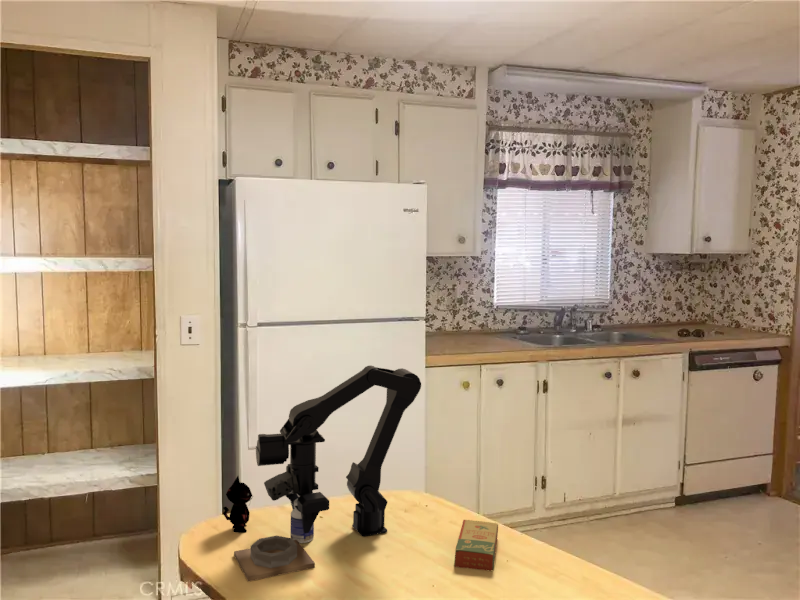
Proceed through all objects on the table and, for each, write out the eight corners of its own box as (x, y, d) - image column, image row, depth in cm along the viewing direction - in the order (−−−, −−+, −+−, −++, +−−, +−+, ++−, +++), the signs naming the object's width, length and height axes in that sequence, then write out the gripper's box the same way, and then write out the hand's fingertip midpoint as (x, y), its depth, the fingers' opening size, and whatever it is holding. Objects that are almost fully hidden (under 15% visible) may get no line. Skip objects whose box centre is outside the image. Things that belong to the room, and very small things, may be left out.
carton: (498, 540, 157) (498, 522, 156) (493, 573, 141) (494, 553, 141) (462, 535, 158) (463, 518, 158) (453, 568, 143) (454, 548, 142)
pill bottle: (309, 545, 151) (309, 506, 150) (287, 542, 152) (287, 504, 151) (316, 534, 156) (317, 497, 155) (295, 532, 157) (295, 495, 157)
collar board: (296, 543, 152) (296, 528, 151) (314, 567, 141) (314, 551, 141) (234, 555, 145) (234, 540, 145) (248, 581, 135) (248, 564, 134)
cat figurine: (253, 534, 156) (253, 483, 155) (222, 536, 154) (222, 485, 153) (252, 521, 163) (253, 473, 162) (223, 523, 161) (223, 474, 160)
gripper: (256, 453, 157) (256, 518, 159) (280, 480, 141) (280, 552, 142) (302, 448, 162) (302, 510, 164) (330, 472, 146) (329, 542, 147)
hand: (302, 528), depth 154 cm, fingers closed on pill bottle, 5 cm apart
